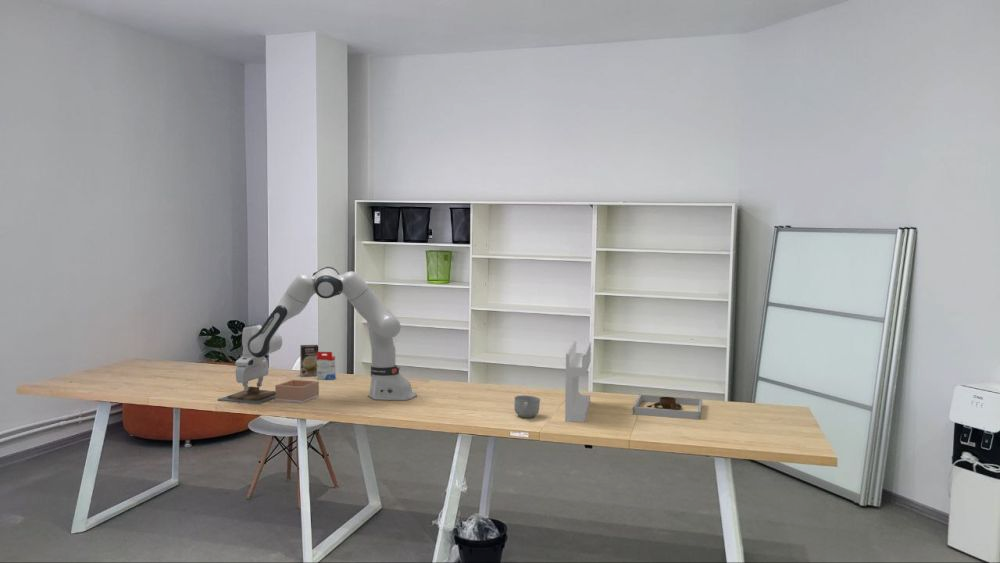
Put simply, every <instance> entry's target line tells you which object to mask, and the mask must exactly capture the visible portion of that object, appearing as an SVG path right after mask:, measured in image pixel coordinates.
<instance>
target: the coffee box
mask: <svg viewBox="0 0 1000 563" xmlns="http://www.w3.org/2000/svg"><path fill="white" fill-rule="evenodd" d="M317 352H319V345H318V344H300V352H299V353H300V355H299V357H300V360H299V361H300V362H299V365H300V367H299V368H300V371H299V372H300V374H299V375H300V377H301V378H304V377H307V378H308V377H317Z"/></svg>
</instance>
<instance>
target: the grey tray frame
mask: <svg viewBox="0 0 1000 563" xmlns="http://www.w3.org/2000/svg"><path fill="white" fill-rule="evenodd" d="M660 397H673V398H675V399H676V404H679V405H684V406H685V405H686V406H687V405H688V406H698V410H697V411H693V410H682V409H680V410H669V409H656V408H655V407H654V408H653V407H643V406H640V405H641V402H645V403H646V402H647V403H659V402H660ZM702 409H703V398H695V397H682V396H667V395H654V394H642V393H641V394H640V393H639V395H638V396H637V399H636V400H635V402H634V404H633V406H632V415H640V416H650V417H651V416H652V417H663V418H664V417H665V418H677V419H691V420H701V416H702V411H703V410H702Z"/></svg>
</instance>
